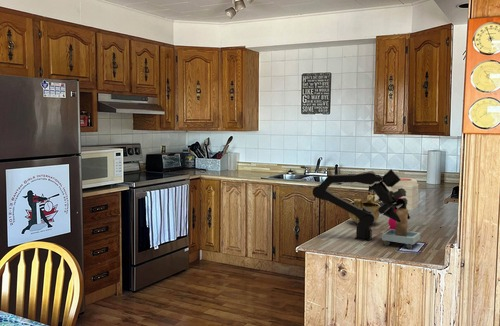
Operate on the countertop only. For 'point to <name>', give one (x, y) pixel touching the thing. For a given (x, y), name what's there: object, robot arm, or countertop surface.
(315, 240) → the countertop surface
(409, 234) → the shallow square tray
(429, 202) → the countertop surface
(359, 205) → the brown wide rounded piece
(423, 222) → the countertop surface
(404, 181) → the cream watering can
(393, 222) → the pepper mill
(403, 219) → the walnut post
